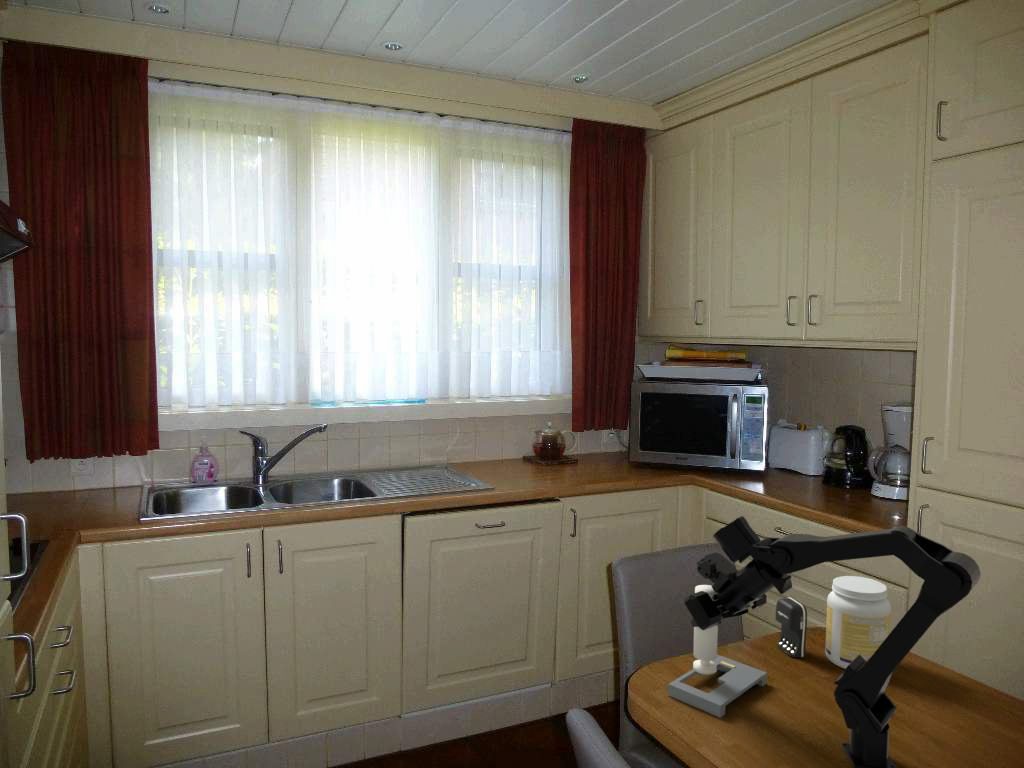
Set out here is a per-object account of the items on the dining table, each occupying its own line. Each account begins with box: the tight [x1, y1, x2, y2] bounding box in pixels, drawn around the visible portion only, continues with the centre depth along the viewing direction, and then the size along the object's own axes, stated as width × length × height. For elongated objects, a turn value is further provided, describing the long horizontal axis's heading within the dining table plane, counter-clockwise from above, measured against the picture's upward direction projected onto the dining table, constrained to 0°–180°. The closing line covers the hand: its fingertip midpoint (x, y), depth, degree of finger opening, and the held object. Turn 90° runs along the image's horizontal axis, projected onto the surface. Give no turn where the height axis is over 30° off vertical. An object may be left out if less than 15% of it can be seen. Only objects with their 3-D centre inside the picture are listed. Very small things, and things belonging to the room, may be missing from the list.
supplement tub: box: [824, 575, 892, 670], centre depth 155 cm, size 12×12×17 cm
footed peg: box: [692, 584, 719, 675], centre depth 142 cm, size 4×4×16 cm
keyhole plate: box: [667, 654, 768, 719], centre depth 144 cm, size 18×11×2 cm, turn 135°
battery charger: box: [775, 596, 808, 658], centre depth 160 cm, size 7×4×11 cm, turn 13°
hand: (700, 621), depth 143 cm, fingers closed on footed peg, 4 cm apart
